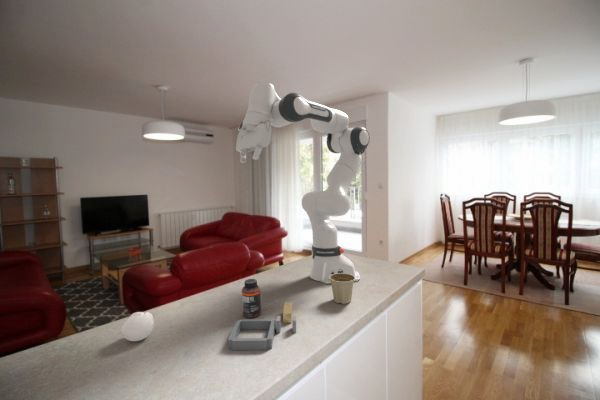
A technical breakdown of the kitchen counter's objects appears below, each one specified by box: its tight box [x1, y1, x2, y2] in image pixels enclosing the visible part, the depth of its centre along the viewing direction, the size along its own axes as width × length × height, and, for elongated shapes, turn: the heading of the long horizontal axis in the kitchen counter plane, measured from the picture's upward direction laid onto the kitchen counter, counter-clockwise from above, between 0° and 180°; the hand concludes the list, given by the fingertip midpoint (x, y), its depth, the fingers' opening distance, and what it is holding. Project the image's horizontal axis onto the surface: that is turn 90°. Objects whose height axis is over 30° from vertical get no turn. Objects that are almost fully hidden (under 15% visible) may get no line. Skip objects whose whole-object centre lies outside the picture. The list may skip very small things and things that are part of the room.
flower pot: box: [329, 273, 355, 305], centre depth 101 cm, size 9×9×9 cm
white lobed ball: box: [120, 311, 155, 342], centre depth 78 cm, size 8×8×8 cm
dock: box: [227, 315, 297, 351], centre depth 77 cm, size 18×11×4 cm, turn 89°
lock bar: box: [282, 301, 293, 324], centre depth 89 cm, size 8×2×3 cm, turn 179°
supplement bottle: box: [241, 278, 262, 319], centre depth 91 cm, size 6×6×11 cm
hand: (248, 161), depth 100 cm, fingers open, 8 cm apart
